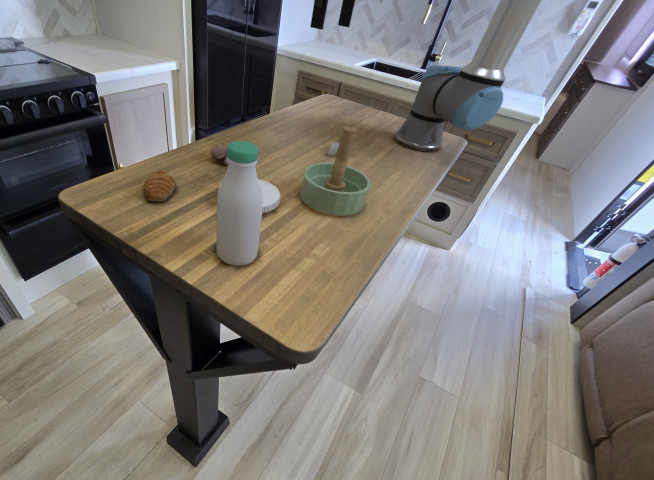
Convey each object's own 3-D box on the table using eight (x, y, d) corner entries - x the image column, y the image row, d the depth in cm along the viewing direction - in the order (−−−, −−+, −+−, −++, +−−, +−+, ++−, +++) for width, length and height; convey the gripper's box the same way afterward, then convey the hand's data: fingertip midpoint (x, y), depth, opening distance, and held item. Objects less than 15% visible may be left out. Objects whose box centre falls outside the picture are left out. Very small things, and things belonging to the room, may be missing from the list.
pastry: (172, 205, 72) (170, 188, 70) (140, 203, 71) (137, 187, 69) (176, 184, 79) (175, 169, 76) (147, 183, 78) (145, 167, 75)
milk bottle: (265, 258, 62) (279, 152, 48) (230, 272, 59) (234, 160, 45) (243, 237, 66) (250, 133, 52) (209, 248, 63) (206, 139, 49)
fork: (349, 144, 116) (351, 136, 114) (334, 157, 100) (336, 147, 99) (341, 142, 117) (344, 134, 115) (325, 154, 101) (328, 145, 99)
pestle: (327, 191, 83) (344, 123, 72) (344, 198, 81) (364, 129, 70) (318, 198, 80) (334, 128, 69) (335, 205, 78) (355, 134, 67)
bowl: (318, 179, 88) (323, 157, 84) (372, 200, 83) (380, 177, 79) (287, 200, 79) (291, 176, 75) (346, 225, 73) (354, 201, 69)
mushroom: (244, 167, 89) (241, 148, 93) (235, 149, 84) (232, 130, 88) (219, 177, 91) (217, 158, 95) (208, 160, 86) (207, 141, 90)
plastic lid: (283, 193, 81) (284, 183, 79) (272, 223, 71) (274, 213, 69) (228, 182, 82) (228, 173, 80) (210, 211, 72) (210, 200, 70)
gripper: (366, -108, 68) (339, 22, 83) (307, -143, 53) (287, 26, 68) (401, -107, 66) (367, 28, 81) (349, -143, 50) (319, 32, 65)
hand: (330, 27), depth 74 cm, fingers open, 13 cm apart
